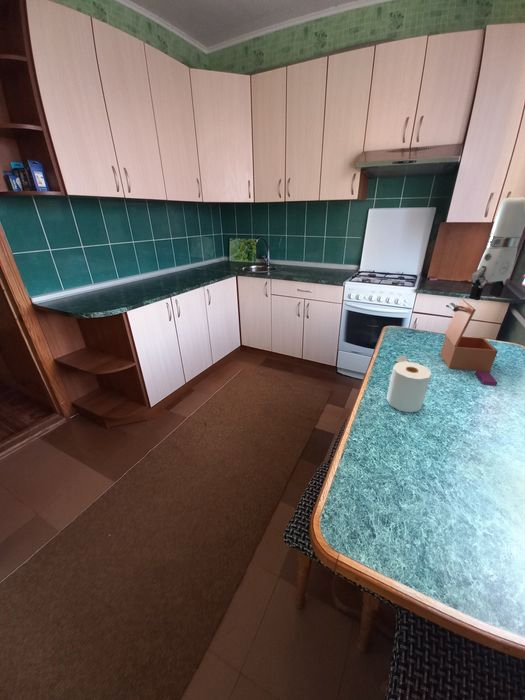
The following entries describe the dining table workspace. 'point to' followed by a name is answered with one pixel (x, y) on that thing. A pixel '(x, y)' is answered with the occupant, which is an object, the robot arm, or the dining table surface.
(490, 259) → the robot arm
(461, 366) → the brown box body
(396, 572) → the dining table surface
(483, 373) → the chocolate bar
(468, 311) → the brown box lid
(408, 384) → the toilet paper
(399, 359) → the spoon
